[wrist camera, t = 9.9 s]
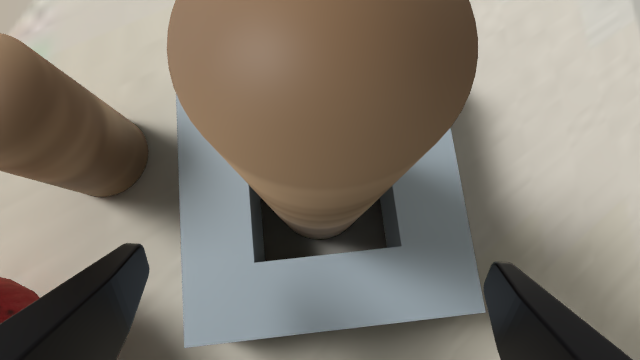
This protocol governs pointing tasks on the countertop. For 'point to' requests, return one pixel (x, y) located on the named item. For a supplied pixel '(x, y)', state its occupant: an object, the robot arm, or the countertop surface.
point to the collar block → (324, 270)
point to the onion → (14, 298)
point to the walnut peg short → (62, 128)
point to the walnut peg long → (322, 94)
